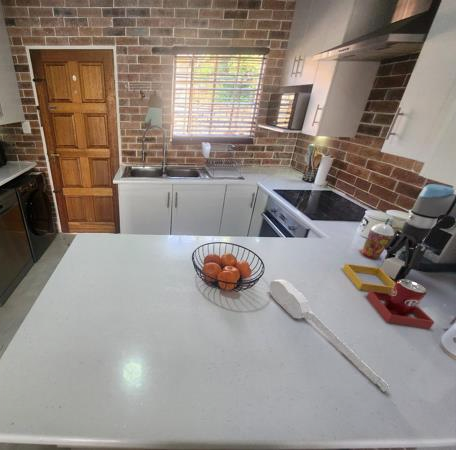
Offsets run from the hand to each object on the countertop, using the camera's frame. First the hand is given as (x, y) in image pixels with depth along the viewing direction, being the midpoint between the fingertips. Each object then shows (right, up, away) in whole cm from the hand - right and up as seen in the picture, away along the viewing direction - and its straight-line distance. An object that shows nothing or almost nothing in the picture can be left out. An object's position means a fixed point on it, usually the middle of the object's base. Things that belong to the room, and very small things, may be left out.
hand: (391, 273), depth 104 cm
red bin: (-17, -11, -18) cm, 27 cm away
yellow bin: (-14, -3, -4) cm, 14 cm away
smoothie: (+4, +5, +15) cm, 16 cm away
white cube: (0, 0, 0) cm, 0 cm away
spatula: (-51, -14, -27) cm, 59 cm away
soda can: (-17, -10, -18) cm, 27 cm away
